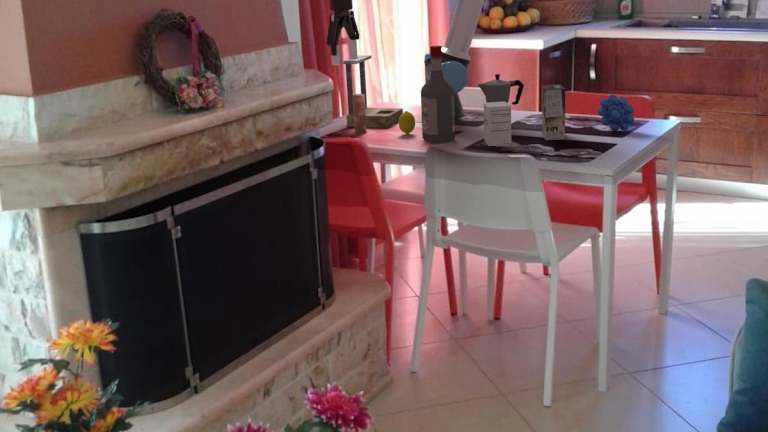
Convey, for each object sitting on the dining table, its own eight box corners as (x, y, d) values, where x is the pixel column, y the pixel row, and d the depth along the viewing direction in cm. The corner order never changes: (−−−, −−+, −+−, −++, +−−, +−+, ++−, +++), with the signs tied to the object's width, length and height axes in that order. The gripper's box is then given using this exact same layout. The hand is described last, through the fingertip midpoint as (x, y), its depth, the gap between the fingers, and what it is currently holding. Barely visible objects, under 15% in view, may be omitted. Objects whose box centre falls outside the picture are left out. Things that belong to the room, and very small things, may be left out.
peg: (368, 131, 305) (366, 94, 301) (363, 134, 301) (361, 96, 297) (357, 131, 306) (355, 93, 302) (352, 133, 303) (350, 96, 299)
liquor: (432, 144, 282) (429, 49, 273) (420, 139, 290) (416, 46, 281) (458, 140, 285) (455, 46, 276) (444, 135, 293) (442, 43, 284)
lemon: (417, 132, 299) (416, 109, 297) (412, 136, 294) (411, 112, 292) (402, 132, 301) (401, 109, 298) (397, 136, 296) (395, 112, 294)
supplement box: (483, 142, 282) (483, 102, 278) (506, 140, 282) (506, 100, 278) (488, 147, 275) (487, 106, 271) (512, 145, 275) (511, 105, 271)
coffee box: (565, 139, 279) (566, 88, 274) (545, 140, 279) (545, 89, 275) (560, 133, 288) (561, 83, 283) (541, 134, 288) (541, 84, 283)
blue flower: (595, 133, 285) (596, 96, 281) (597, 129, 291) (598, 92, 287) (633, 134, 281) (634, 96, 278) (634, 129, 287) (635, 92, 284)
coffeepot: (480, 131, 297) (479, 77, 291) (476, 125, 306) (475, 72, 300) (526, 128, 297) (526, 74, 292) (521, 122, 306) (521, 70, 301)
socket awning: (403, 119, 321) (400, 55, 314) (389, 127, 309) (385, 61, 302) (362, 118, 327) (358, 55, 320) (347, 126, 315) (342, 61, 308)
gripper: (347, -5, 308) (351, 56, 314) (313, 1, 286) (318, 67, 293) (366, -6, 305) (370, 56, 311) (333, 1, 283) (338, 68, 290)
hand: (345, 62), depth 302 cm, fingers open, 13 cm apart
